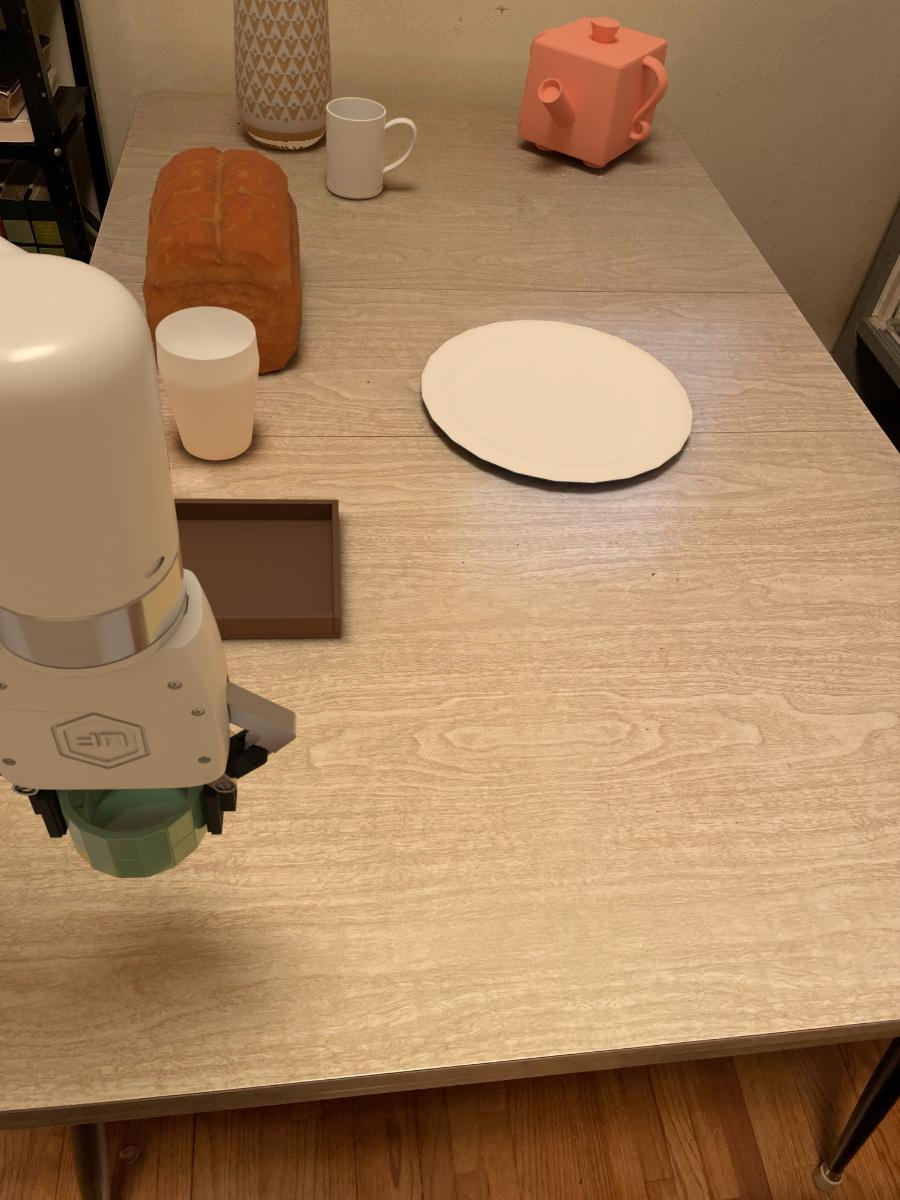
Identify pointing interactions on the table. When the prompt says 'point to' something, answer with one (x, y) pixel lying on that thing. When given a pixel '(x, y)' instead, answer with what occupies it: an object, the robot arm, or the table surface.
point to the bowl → (134, 827)
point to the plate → (556, 401)
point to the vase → (282, 68)
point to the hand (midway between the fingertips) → (141, 810)
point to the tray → (265, 564)
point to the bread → (226, 245)
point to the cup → (210, 378)
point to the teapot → (592, 89)
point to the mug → (359, 146)
